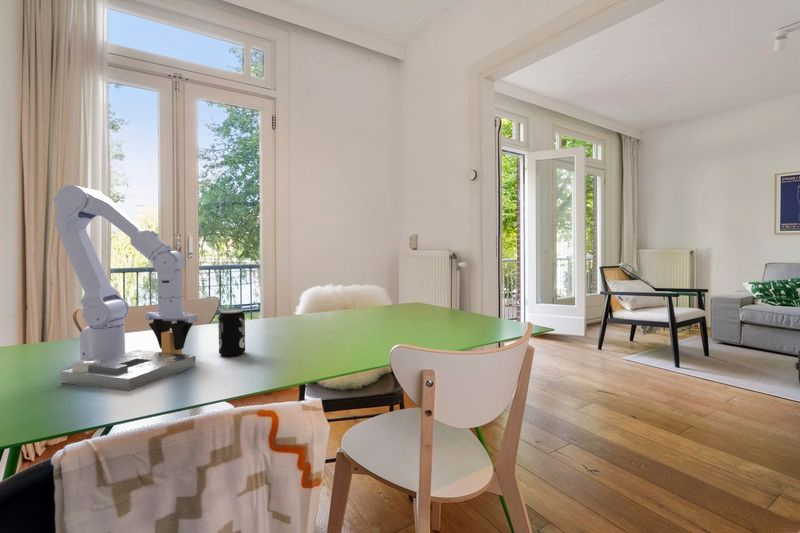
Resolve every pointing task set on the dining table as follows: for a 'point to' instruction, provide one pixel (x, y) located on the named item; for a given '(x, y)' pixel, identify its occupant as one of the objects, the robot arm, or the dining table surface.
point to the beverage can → (231, 332)
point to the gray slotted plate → (127, 369)
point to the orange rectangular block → (168, 343)
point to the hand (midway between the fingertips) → (171, 348)
